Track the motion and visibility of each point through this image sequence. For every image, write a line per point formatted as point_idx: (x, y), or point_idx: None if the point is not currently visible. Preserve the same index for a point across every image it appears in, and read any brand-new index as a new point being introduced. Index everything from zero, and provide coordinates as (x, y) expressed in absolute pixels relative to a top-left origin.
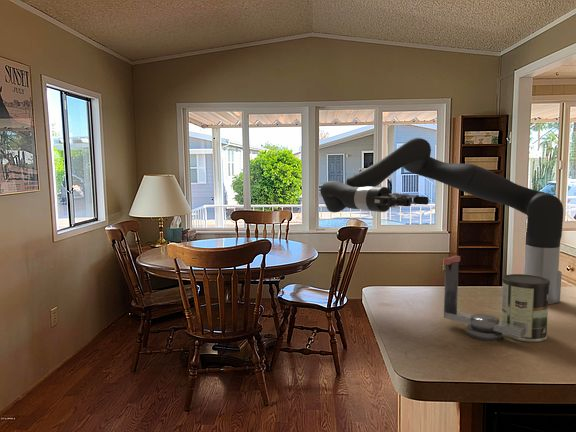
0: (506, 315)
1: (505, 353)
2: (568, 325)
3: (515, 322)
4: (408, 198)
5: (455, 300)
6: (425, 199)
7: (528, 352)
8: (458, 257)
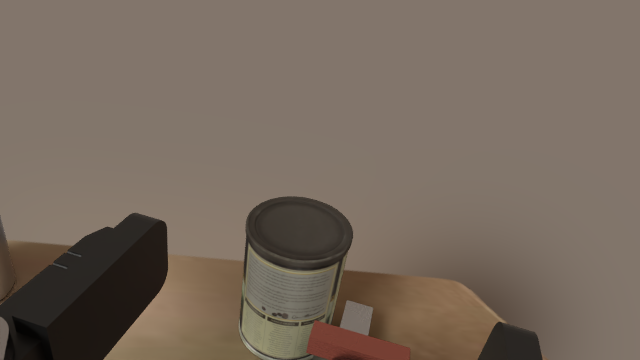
0: (323, 321)
1: (417, 352)
2: (185, 259)
3: (333, 312)
4: (534, 335)
5: None
6: (152, 250)
7: (383, 319)
8: (329, 326)
